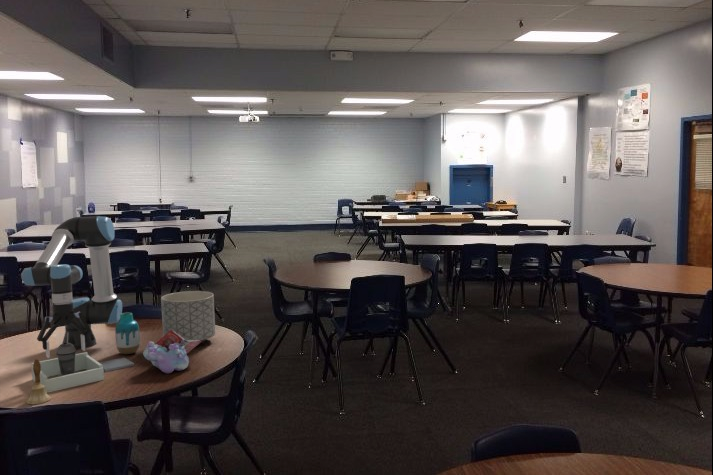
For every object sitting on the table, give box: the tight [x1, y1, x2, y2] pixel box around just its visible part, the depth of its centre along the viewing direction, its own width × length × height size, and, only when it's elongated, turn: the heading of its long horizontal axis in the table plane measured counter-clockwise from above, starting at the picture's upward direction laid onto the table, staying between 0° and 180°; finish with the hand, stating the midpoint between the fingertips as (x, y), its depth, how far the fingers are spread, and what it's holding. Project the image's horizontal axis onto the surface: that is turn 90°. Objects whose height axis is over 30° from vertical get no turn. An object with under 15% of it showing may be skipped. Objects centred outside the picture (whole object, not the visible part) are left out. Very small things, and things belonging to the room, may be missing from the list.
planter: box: [160, 290, 216, 345], centre depth 297 cm, size 25×25×24 cm
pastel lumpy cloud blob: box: [142, 330, 203, 375], centre depth 260 cm, size 20×22×18 cm
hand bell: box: [25, 358, 52, 405], centre depth 224 cm, size 8×8×16 cm
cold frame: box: [30, 351, 105, 394], centre depth 247 cm, size 21×22×7 cm
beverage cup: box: [56, 332, 77, 376], centre depth 247 cm, size 7×7×20 cm
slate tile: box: [99, 357, 135, 372], centre depth 265 cm, size 12×12×1 cm
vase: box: [115, 312, 141, 355], centre depth 282 cm, size 11×11×19 cm
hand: (66, 353), depth 246 cm, fingers open, 13 cm apart
